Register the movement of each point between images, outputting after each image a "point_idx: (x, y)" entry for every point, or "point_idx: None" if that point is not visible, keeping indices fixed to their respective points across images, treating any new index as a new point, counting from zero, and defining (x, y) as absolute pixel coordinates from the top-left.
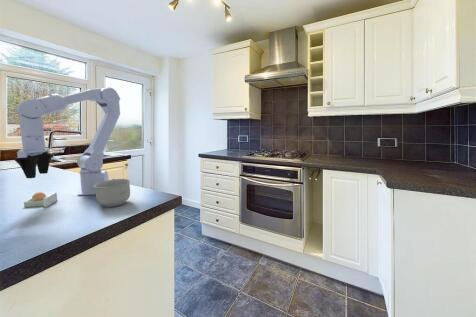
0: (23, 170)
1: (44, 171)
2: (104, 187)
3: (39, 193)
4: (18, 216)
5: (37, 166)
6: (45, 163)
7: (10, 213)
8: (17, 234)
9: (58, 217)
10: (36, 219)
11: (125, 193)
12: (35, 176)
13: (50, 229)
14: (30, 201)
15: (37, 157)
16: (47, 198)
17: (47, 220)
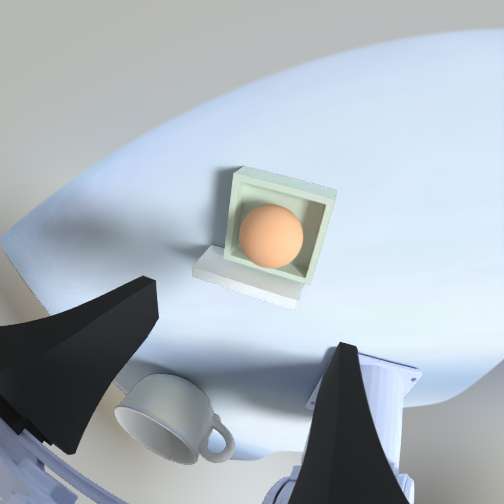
0: (84, 306)
1: (322, 383)
2: (114, 412)
3: (247, 254)
4: (128, 185)
5: (336, 399)
6: (308, 460)
7: (167, 142)
8: (42, 225)
9: (106, 287)
10: (99, 242)
11: (150, 422)
12: (153, 325)
13: (58, 274)
14: (233, 202)
15: (63, 451)
16: (207, 277)
17: (92, 266)
